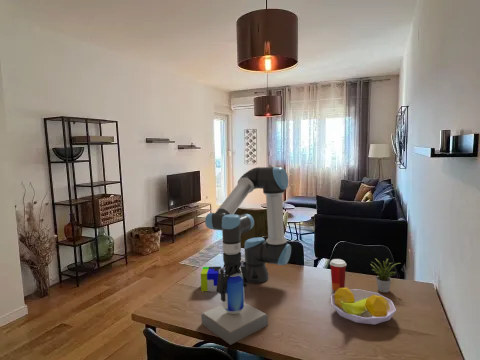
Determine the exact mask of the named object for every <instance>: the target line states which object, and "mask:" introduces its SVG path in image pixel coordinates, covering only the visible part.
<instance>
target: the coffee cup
mask: <svg viewBox="0 0 480 360" xmlns="http://www.w3.org/2000/svg"><path fill="white" fill-rule="evenodd" d="M329 266H330V274H331V288H332V291H335V292H336V291H337V289H338V288H345V287H346V286H345V283H346V268H347V263H346V261H345V260H343V259H341V258H333V259H331V260H330V261H329Z"/></svg>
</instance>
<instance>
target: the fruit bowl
mask: <svg viewBox="0 0 480 360" xmlns="http://www.w3.org/2000/svg"><path fill="white" fill-rule="evenodd" d="M330 300H331V301H330V304H331V306H332V307H333V308H334V310H335V311H336V312H337V314H338V315H339V316H340V317H342V318H345V319H347V320H348V321H349V320H350V321H352V322H354V323H359V324H366V325H367V324H368V325H374V326H375V325H377V324H381V323H385V322H387V321H390V320H391V318H392V317H393V315H394V314H395V313H396V311H397V309H396V307H395V305H394V302H393V300H391V299H390V298H388V297H386V296H384V295H382V294H381V293H378V292H374V291H370V290H369V291H368V290H365V289H359V288H354V289H349V287H344V288H338V289H337V291H335V292H334V293H333V294H331V295H330Z"/></svg>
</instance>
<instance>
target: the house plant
mask: <svg viewBox="0 0 480 360" xmlns="http://www.w3.org/2000/svg"><path fill="white" fill-rule="evenodd" d="M374 259H375V260H376V262H377V263H378V265H379V266H378V265H377V264H376V263H375V262H373V261H371V263H369V265H370V266H371V267H372V271H374V273H376V274H378V275H377V276H376V277H375V279H376V286H377V290H378V291H379V292H381V293H389V292H390V288H391V283H392V278H391V277H392V276H395V274H396V271H391V270H393V269H394V268H395V267H396V265H398V264H401V262H397V263H396V262H395V263H394V264H392V262H389V258H386V260H385V261H384V260H382V262H383V265H382V263H381V261H380V260H378V259H377V258H374ZM373 264H374V265H375V266H374V265H373ZM391 264H392V265H391Z"/></svg>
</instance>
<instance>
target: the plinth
mask: <svg viewBox="0 0 480 360" xmlns="http://www.w3.org/2000/svg"><path fill="white" fill-rule="evenodd" d="M200 316H201V318H200V319H201V324H202V325H203V326H204V327H206V328H207V329H208V330H209V331H211V332H212V333H214V334H215V335H216V336H218V337H219V338H220V339H222V340H223V341H225V343H227V344H229V346H231V345H233V344H235V343H237V342H239V341H241V340H243V339H244V338H245V339H246V338H247V337H248V336H250V335H252V334H253V333H256V332H257V331H260V330H261V329H264V328H265V327H267V326H268V325H269V324H268V323H269V322H268V320H269V319H268V314H267V313H265V312H263V311H262V310H259V308H258V309H257V308H256V307H254V306H253V305H250V304H248V303H246V302H244V308H243V309H242V311H241V312H239V313H235V314H232V313H228V312H227V311H226V310H225V309H224V308H223V306H222V304H221V305H218V306H216V307H213V308H210V309H208V310H206V311H204V312H202V313H201V315H200Z"/></svg>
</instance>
